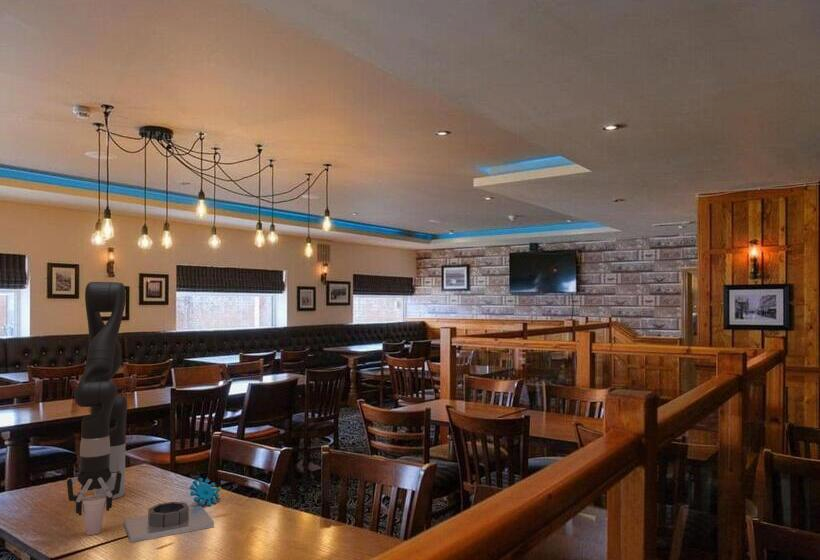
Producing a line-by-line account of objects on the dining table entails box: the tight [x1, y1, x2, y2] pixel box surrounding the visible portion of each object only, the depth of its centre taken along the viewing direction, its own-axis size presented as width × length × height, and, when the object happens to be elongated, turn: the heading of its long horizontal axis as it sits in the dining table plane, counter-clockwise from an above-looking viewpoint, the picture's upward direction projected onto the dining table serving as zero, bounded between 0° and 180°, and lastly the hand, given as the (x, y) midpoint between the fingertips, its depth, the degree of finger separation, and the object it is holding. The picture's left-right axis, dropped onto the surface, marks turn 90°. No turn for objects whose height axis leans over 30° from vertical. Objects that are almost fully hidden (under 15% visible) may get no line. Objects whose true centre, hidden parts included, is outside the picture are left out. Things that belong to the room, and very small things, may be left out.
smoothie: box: [81, 489, 107, 536], centre depth 170 cm, size 6×6×14 cm
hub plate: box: [122, 501, 215, 544], centre depth 176 cm, size 16×22×5 cm
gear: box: [189, 477, 222, 507], centre depth 196 cm, size 11×6×10 cm
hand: (93, 512), depth 170 cm, fingers closed on smoothie, 6 cm apart
